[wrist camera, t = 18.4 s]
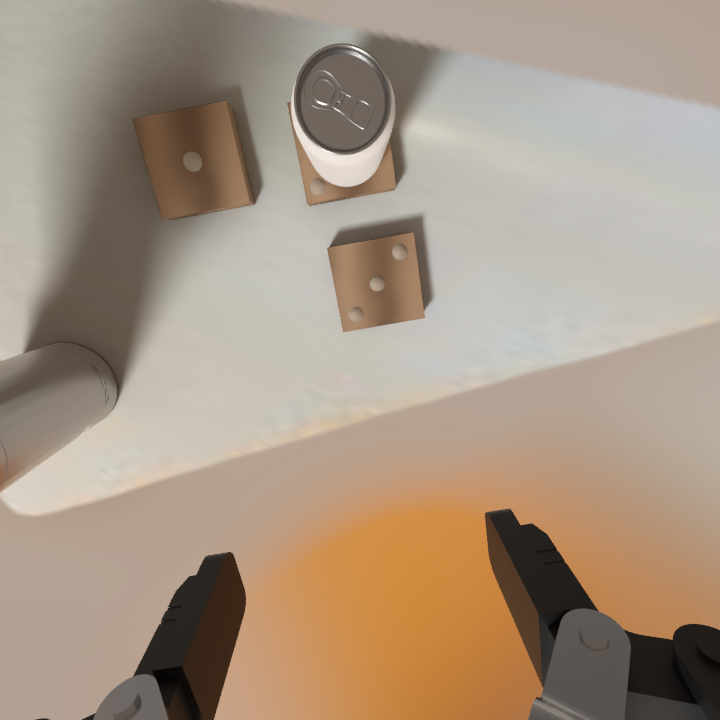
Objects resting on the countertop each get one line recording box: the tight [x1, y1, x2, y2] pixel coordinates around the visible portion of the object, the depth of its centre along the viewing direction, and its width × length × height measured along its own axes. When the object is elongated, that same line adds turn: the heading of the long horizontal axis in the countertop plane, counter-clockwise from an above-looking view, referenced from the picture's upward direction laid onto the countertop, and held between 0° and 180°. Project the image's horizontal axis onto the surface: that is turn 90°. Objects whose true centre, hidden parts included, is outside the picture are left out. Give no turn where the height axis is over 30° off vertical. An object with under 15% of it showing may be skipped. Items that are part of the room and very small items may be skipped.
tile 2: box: [288, 102, 396, 206], centre depth 36 cm, size 8×8×2 cm
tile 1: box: [133, 101, 255, 220], centre depth 36 cm, size 8×8×2 cm
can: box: [291, 44, 395, 187], centre depth 29 cm, size 6×6×12 cm
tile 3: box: [327, 232, 425, 332], centre depth 39 cm, size 8×8×2 cm
